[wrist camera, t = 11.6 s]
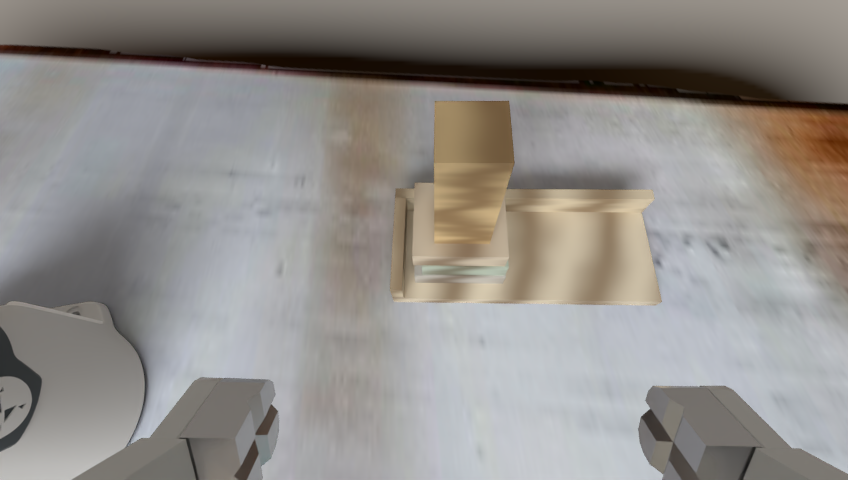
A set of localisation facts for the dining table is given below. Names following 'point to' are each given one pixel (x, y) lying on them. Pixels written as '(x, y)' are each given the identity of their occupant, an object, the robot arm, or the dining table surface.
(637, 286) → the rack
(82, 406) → the robot arm
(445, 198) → the oak post
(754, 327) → the dining table surface
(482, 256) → the offcut stack
